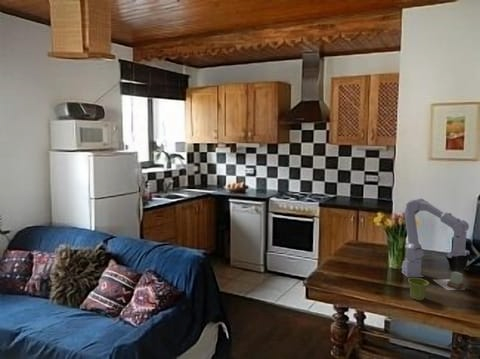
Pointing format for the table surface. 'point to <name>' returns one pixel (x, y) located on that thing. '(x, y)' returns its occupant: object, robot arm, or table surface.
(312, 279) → the table surface
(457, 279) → the sage block
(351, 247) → the table surface
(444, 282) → the board
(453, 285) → the walnut block
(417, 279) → the plant pot
